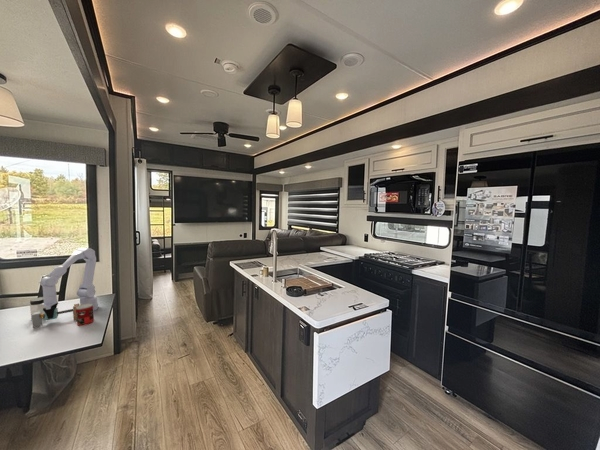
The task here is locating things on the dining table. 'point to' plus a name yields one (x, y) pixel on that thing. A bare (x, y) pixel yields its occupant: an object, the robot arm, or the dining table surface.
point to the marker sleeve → (53, 316)
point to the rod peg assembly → (38, 316)
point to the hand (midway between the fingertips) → (51, 316)
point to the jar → (37, 305)
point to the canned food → (84, 314)
